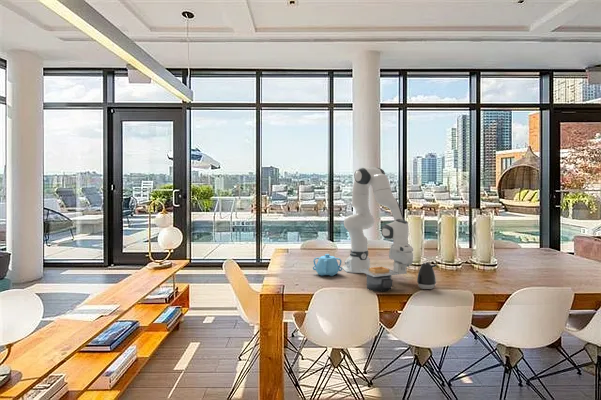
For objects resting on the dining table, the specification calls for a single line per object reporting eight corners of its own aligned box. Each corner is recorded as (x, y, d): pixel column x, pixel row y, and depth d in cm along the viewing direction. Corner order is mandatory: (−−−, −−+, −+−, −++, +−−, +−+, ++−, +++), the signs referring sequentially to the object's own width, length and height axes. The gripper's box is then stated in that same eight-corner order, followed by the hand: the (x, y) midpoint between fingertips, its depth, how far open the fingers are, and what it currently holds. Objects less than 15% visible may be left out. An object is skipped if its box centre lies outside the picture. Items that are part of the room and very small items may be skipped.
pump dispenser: (435, 291, 236) (435, 264, 236) (416, 290, 240) (416, 263, 240) (436, 287, 246) (436, 261, 245) (418, 285, 250) (418, 260, 249)
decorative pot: (344, 275, 278) (344, 255, 278) (323, 278, 271) (322, 257, 270) (331, 271, 293) (331, 251, 292) (311, 273, 286) (310, 253, 285)
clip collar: (368, 270, 247) (368, 267, 247) (381, 269, 250) (381, 266, 250) (375, 273, 240) (375, 270, 240) (389, 271, 243) (389, 269, 243)
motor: (359, 286, 250) (359, 269, 250) (383, 283, 256) (383, 267, 255) (376, 294, 233) (376, 276, 233) (400, 291, 239) (400, 273, 239)
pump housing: (393, 272, 261) (393, 261, 260) (405, 271, 264) (405, 260, 264) (398, 274, 256) (398, 263, 256) (410, 273, 259) (410, 262, 259)
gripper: (386, 243, 267) (386, 265, 268) (406, 249, 248) (405, 273, 249) (395, 243, 269) (394, 264, 270) (415, 249, 250) (414, 272, 251)
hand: (400, 268), depth 259 cm, fingers closed on pump housing, 5 cm apart
